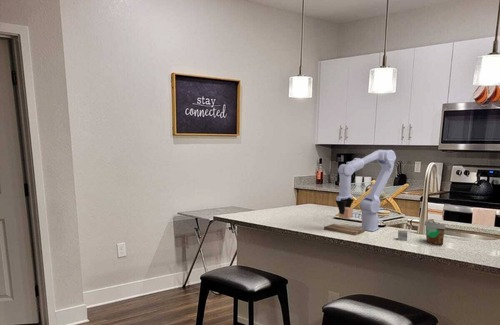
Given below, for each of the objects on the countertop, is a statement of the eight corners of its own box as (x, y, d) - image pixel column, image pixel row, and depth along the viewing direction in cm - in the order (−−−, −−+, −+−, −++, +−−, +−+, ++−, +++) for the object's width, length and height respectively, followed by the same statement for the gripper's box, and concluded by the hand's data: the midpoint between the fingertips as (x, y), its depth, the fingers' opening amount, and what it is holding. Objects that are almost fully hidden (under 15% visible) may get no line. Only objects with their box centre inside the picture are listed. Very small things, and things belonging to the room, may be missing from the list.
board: (333, 226, 209) (333, 223, 209) (364, 232, 197) (364, 229, 197) (323, 229, 202) (324, 226, 202) (355, 235, 190) (355, 232, 190)
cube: (343, 216, 201) (344, 206, 201) (352, 217, 198) (352, 208, 198) (339, 217, 198) (339, 207, 197) (347, 218, 194) (348, 209, 194)
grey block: (397, 238, 186) (398, 230, 186) (406, 239, 184) (407, 231, 184) (398, 240, 182) (398, 232, 182) (407, 241, 181) (407, 232, 180)
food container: (419, 239, 185) (420, 218, 184) (432, 239, 184) (433, 219, 184) (430, 246, 172) (431, 224, 172) (444, 246, 172) (445, 224, 172)
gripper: (345, 189, 190) (344, 216, 190) (358, 186, 200) (357, 212, 201) (332, 187, 194) (332, 214, 195) (346, 185, 205) (345, 210, 206)
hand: (344, 213), depth 198 cm, fingers closed on cube, 5 cm apart
